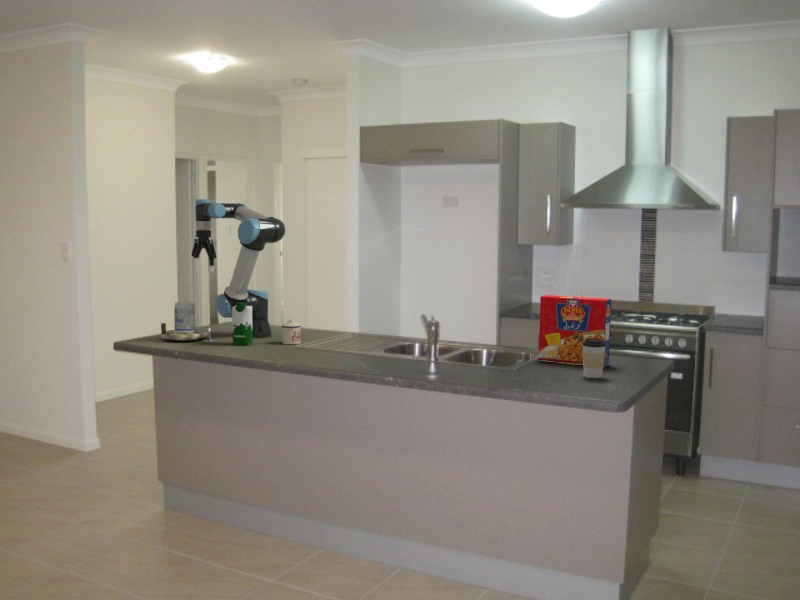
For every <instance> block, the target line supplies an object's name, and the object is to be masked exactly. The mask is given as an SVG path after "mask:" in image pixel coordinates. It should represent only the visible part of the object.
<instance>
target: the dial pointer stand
mask: <svg viewBox="0 0 800 600" xmlns="http://www.w3.org/2000/svg"><path fill="white" fill-rule="evenodd" d="M206 328H207V330H205V331H203V333H207V337H206V339H203V340H202V342H203V343H214V342H216V339H213V338H212V329H211V328H212V327H211V326H207V327H206Z"/></svg>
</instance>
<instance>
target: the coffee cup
mask: <svg viewBox="0 0 800 600" xmlns="http://www.w3.org/2000/svg"><path fill="white" fill-rule="evenodd" d="M582 346H583V351H582V355H583V366H582V367H583V377H584V376H585V377H595V378H596V377H601V376H602V377H603V370H604V368H603V365H604V357H605V346H606V345H605V343H604V342H603V340H601V339H585V341H584V342H583V344H582ZM585 377H584V378H585Z"/></svg>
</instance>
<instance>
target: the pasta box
mask: <svg viewBox="0 0 800 600" xmlns="http://www.w3.org/2000/svg"><path fill="white" fill-rule="evenodd" d="M539 302H540V303H539V304H540V305H539V331H538V334H539V336H538V361H539V360H547V361H555V362H564V363H574V364H583V355H582V351H583V346H582V344H583V342H584V341H585V339H601V340H603V342H604V343H605V345H606V346H605V357H604V365H603V366H605V365H607V364H608V363H610V345H611V344H610V343H611V342H610V341H611V316H612V299H611V298H602V297H601V298H600V297H584V296H583V297H582V296H571V295H570V296H569V295H568V296H567V295H556V294H555V295H553V294H545V295H541V296H540V299H539Z"/></svg>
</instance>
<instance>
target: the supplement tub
mask: <svg viewBox="0 0 800 600" xmlns="http://www.w3.org/2000/svg"><path fill="white" fill-rule="evenodd" d="M195 305H196V304H195V302H194V301H176V302H174V309H173V310H174V330H175V332H176V333H179V334H189V333H193V332H195V329H196V324H195V322H196V319H195V318H196V307H195Z"/></svg>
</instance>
